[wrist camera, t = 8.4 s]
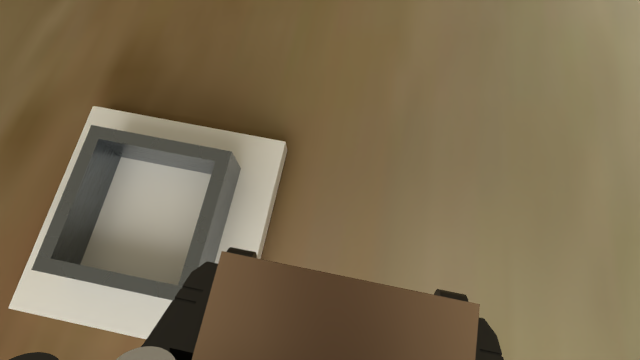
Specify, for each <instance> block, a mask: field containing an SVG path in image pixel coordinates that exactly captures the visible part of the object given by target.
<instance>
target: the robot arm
mask: <svg viewBox="0 0 640 360" xmlns="http://www.w3.org/2000/svg"><path fill="white" fill-rule="evenodd" d="M226 252H229V253H233V254H238V255H243V256H248V257H253V258H257V254H256V252H253V251H248V250H243V249H238V248H233V247H230V248H229V249H228V250H227V251H226ZM217 266H218V264H217V263H213V262H208V261H207V262H205V263H204V264H202V265H201V266H200V267H198V268H197V269H195V270H194V271H192V272H191V274H190V275H189V277H188V278H187V280H186V281H185V283H184V284H183V286H182V289H180V290H179V292H178V293H177V295H176V296H175V299H174V300H173V301H172V302H171V303H170V305H169V306H168V308H167V309H166V311H165V312H164V314H163V315H162V317H161V318H160V320H159V321H158V323H157V324H156V326H155V327H154V329H153V330H152V332H151V333H150V335H149V336H148V338H147V339H146V341H145V342H144V344H143V345H142V346H141V347H140V348H136V349H133V350H130V351H128V352H126V353H124V354H123V355H121V356H120V357H119V358H117V359H116V360H192V357H193V353H194V349H195V346H196V342H197V339H198V335H199V331H200V328H201V324H202V320H203V317H204V313H205V310H206V306H207V302H208V299H209V295H210V292H211V288H212V284H213V281H214V277H215V274H216V270H217ZM434 295H437V296H442V297H447V298H452V299H456V300H461V301H466V302H468V299H467V296H466V295H464V294H459V293H454V292H449V291H444V290H439V289H437V290H436V291H435V293H434ZM501 355H502V352H501V349H500V345H499V342H498V339H497V335H496V334H495V333H494V331H493V330H492V329H491V327H490V326H489V325H488V323H487V322H486V321H485V319H483V318H479V320H478V332H477V344H476V356H475V360H504V359H503V357H502V356H501ZM9 360H59V359H58V358H56V357H55V356H53V355H51V354H48V353H41V352H35V353H28V354H23V355H20V356H16V357H14V358H12V359H9Z"/></svg>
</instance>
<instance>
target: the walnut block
mask: <svg viewBox="0 0 640 360" xmlns="http://www.w3.org/2000/svg"><path fill="white" fill-rule="evenodd" d="M479 307H480V304H476V303H471V302H466V301H461V300H456V299H452V298H447V297H442V296H437V295H432V294H427V293H422V292H418V291H413V290H408V289H403V288H398V287H393V286H389V285H384V284H379V283H374V282H369V281H364V280H359V279H355V278H350V277H345V276H340V275H335V274H330V273H325V272H321V271H316V270H311V269H306V268H301V267H296V266H292V265H287V264H282V263H277V262H272V261H267V260H262V259H258V258H253V257H248V256H243V255H238V254H233V253H229V252H224V251H222V252H221V255H220V259H219V263H218V266H217V270H216V274H215V277H214V281H213V284H212V288H211V292H210V295H209V299H208V302H207V306H206V310H205V313H204V317H203V320H202V324H201V328H200V331H199V335H198V339H197V342H196V346H195V349H194V353H193V357H192V360H475V356H476V344H477V332H478V320H479Z"/></svg>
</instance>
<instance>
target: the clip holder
mask: <svg viewBox="0 0 640 360" xmlns="http://www.w3.org/2000/svg"><path fill="white" fill-rule="evenodd" d="M286 154H287V146H286V142H284V141H279V140H274V139H268V138H263V137H257V136H252V135H247V134H241V133H236V132H231V131H225V130H220V129H215V128H209V127H204V126H198V125H193V124H188V123H182V122H177V121H172V120H166V119H161V118H155V117H150V116H145V115H139V114H134V113H129V112H123V111H118V110H113V109H107V108H102V107H96V106H93V107H92V110H91V112H90V114H89V117H88V119H87V122H86V124H85V126H84V129H83V131H82V134H81V136H80V138H79V141H78V143H77V145H76V148H75V150H74V153H73V155H72V157H71V160H70V162H69V165H68V167H67V169H66V172H65V174H64V176H63V179H62V181H61V184H60V186H59V188H58V191H57V193H56V196H55V198H54V200H53V203H52V205H51V208H50V210H49V212H48V215H47V217H46V219H45V222H44V224H43V227H42V229H41V231H40V234H39V236H38V239H37V241H36V243H35V246H34V248H33V250H32V253H31V255H30V258H29V260H28V262H27V265H26V267H25V270H24V272H23V274H22V277H21V279H20V281H19V284H18V286H17V289H16V291H15V293H14V296H13V298H12V301H11V303H10V305H9V309H14V310H18V311H23V312H27V313H31V314H36V315H40V316H45V317H49V318H54V319H58V320H63V321H67V322H72V323H76V324H80V325H85V326H89V327H94V328H98V329H103V330H107V331H112V332H116V333H121V334H125V335H129V336H134V337H138V338H143V339H147V338H148V336H149V335H150V333H151V332H152V330H153V329H154V327H155V326H156V324H157V323H158V321H159V320H160V318H161V317H162V315H163V314H164V312H165V311H166V309H167V308H168V306H169V305H170V303H171V302H172V301H173V300H174V299H175V296H176V295H177V293H178V292H179V290H180V289H182V286H183V284H184V283H185V281H186V280H187V278H188V277H189V275H190V274H191V272H192V271H194V270H195V269H197V268H198V267H200V266H201V265H202V264H204V263H205V262H207V261H208V262H213V263H217V264H218V263H219V259H220V255H221V252H222V251H224V252H226V251H227V250H228V249H229V248H230V247H233V248H238V249H243V250H248V251H253V252H256V254H257V258H258V259H261V255H262V251H263V247H264V243H265V239H266V235H267V231H268V227H269V223H270V219H271V215H272V211H273V206H274V202H275V198H276V194H277V190H278V186H279V182H280V178H281V174H282V170H283V166H284V162H285V158H286Z"/></svg>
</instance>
